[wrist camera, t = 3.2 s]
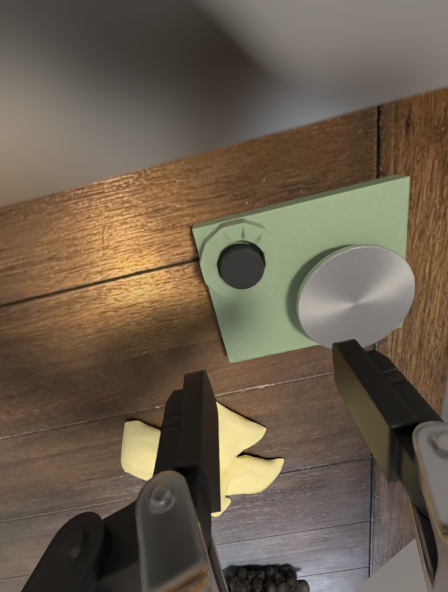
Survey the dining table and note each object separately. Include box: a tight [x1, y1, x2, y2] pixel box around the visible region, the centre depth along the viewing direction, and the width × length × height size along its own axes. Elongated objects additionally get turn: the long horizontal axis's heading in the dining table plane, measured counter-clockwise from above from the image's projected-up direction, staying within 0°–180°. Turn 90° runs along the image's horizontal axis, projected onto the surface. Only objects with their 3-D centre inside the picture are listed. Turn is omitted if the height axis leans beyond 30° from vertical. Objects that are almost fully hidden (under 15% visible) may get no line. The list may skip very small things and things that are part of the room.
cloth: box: [121, 402, 284, 517], centre depth 34 cm, size 22×19×6 cm
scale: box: [192, 175, 410, 363], centre depth 24 cm, size 16×13×4 cm
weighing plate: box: [296, 244, 415, 349], centre depth 23 cm, size 9×9×1 cm
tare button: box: [221, 243, 264, 289], centre depth 21 cm, size 3×3×2 cm
